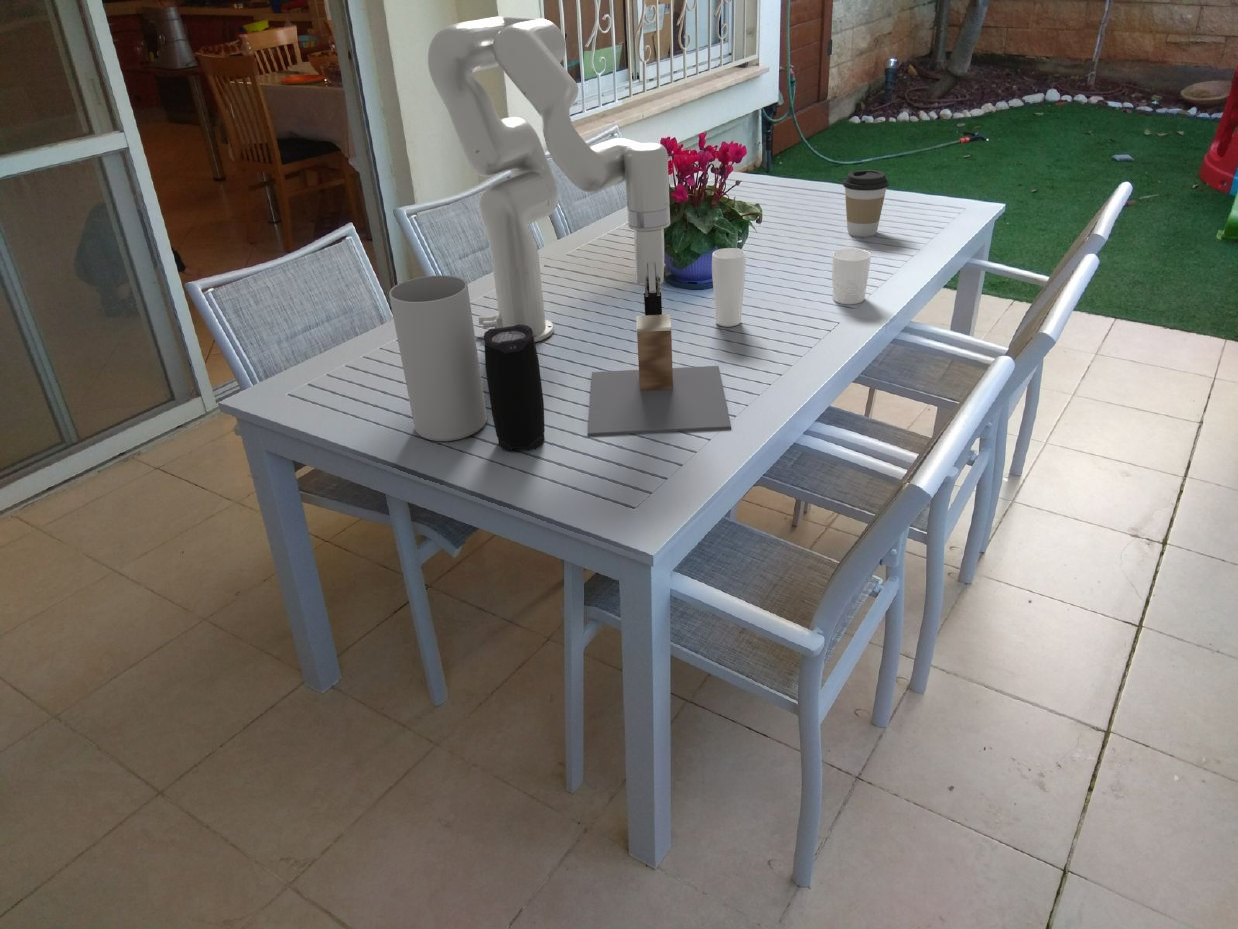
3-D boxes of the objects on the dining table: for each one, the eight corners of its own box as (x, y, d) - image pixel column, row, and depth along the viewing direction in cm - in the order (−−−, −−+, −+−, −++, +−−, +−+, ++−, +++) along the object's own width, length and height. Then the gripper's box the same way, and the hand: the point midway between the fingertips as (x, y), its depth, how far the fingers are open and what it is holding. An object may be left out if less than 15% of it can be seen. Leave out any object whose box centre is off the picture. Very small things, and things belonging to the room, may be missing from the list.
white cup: (829, 305, 200) (831, 259, 195) (830, 292, 206) (833, 248, 201) (866, 306, 198) (870, 260, 193) (867, 293, 205) (871, 248, 200)
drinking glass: (743, 329, 191) (744, 258, 183) (710, 328, 192) (710, 258, 185) (746, 317, 197) (747, 247, 189) (714, 316, 198) (713, 247, 190)
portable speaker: (542, 425, 160) (530, 318, 150) (551, 451, 152) (540, 340, 142) (492, 433, 159) (477, 325, 149) (499, 459, 151) (484, 348, 141)
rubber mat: (587, 435, 156) (587, 433, 156) (591, 374, 177) (591, 372, 176) (731, 428, 155) (731, 426, 155) (718, 368, 176) (718, 365, 176)
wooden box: (639, 390, 168) (636, 328, 162) (639, 376, 173) (636, 315, 167) (673, 389, 168) (671, 327, 162) (671, 374, 173) (669, 314, 167)
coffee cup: (858, 223, 248) (862, 166, 241) (893, 232, 241) (899, 172, 233) (830, 233, 242) (833, 175, 235) (866, 242, 235) (871, 182, 227)
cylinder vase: (502, 421, 162) (483, 284, 149) (446, 450, 154) (421, 308, 142) (456, 402, 170) (434, 270, 157) (400, 429, 162) (373, 292, 149)
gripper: (627, 206, 172) (633, 301, 181) (627, 230, 159) (633, 330, 168) (668, 204, 172) (671, 298, 181) (671, 227, 159) (675, 328, 168)
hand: (653, 313), depth 174 cm, fingers closed
